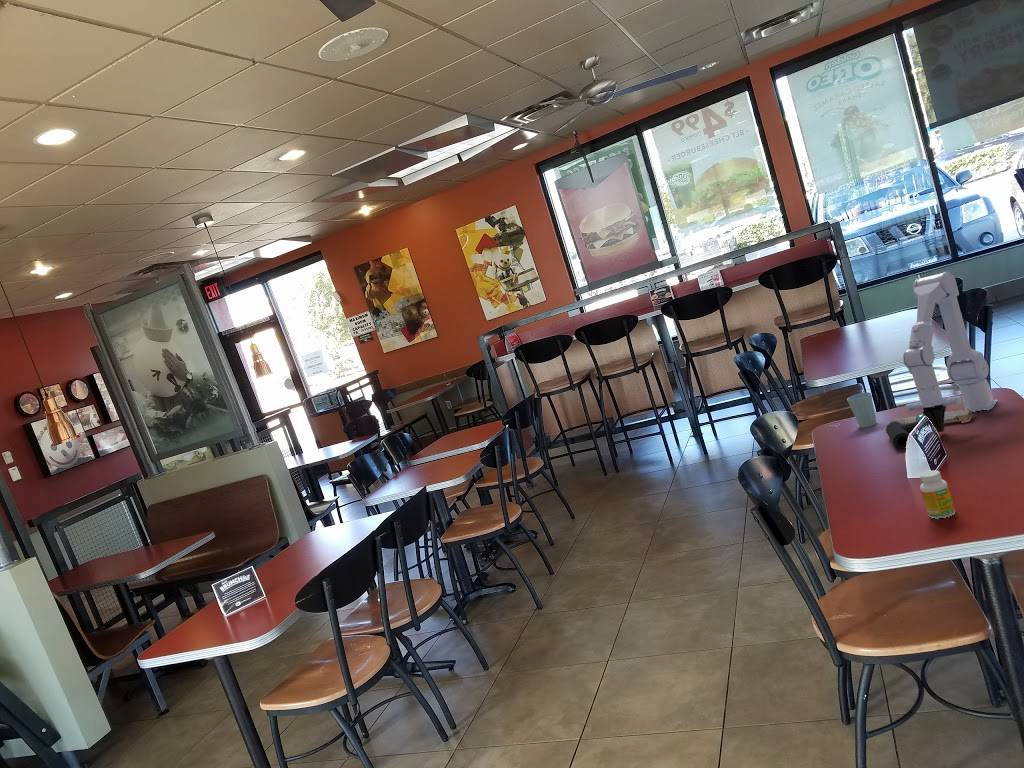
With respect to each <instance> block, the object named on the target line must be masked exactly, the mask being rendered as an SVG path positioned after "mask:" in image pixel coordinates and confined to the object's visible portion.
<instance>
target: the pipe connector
mask: <svg viewBox="0 0 1024 768" xmlns="http://www.w3.org/2000/svg"><path fill="white" fill-rule="evenodd" d="M919 421H920V420H919ZM919 421H917V422H914V423H910V424H906V425H902V424H901V423H899V422H891V423H890V422H889V423H888V424H887V426H886V427H885V433H886V434H887V436H888V437H889V439H890V441H891V443H892V444H893V446H894V447H895V448H896V449H898V450H905V449H906V448H905V447H906V441H907V437H908V435H909V433H910V432H911V431H912V430H913V428H914V427H915V426H916V425H917V424H918V422H919Z"/></svg>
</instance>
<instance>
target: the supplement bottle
mask: <svg viewBox="0 0 1024 768" xmlns="http://www.w3.org/2000/svg"><path fill="white" fill-rule="evenodd" d="M919 478H920V480H921V482H922V483H921V484H920V486H919V488H920V491H921V495H922V499H923V501H924V505H925V507H926V511H927V512H926V513H927V514H928V517H929V518H930V517H931V518H930V519H933V518H935V519H934V520H940V519H939V518H944V519H947V518H946V517H948V518H951V517H952V515H953V516H954V515H955V514H956V513H955V512H956V511H957V510H956V507H955V505H954V502H953V501H954V500H953V498H952V494H951V491H950V488H949V486H948V482H947V481H946V480H944V479H942V475H941V472H940V470H927V471H924V472H922V473H920V475H919ZM950 516H951V517H950Z"/></svg>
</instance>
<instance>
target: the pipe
mask: <svg viewBox="0 0 1024 768" xmlns="http://www.w3.org/2000/svg"><path fill="white" fill-rule="evenodd" d="M923 416H925V415H924V414H923V413H922V414H918V415H916V416H910V417H904V418H903V417H902V418H897V419H890V421H889V423H891V422H899V423H901V424H902V425H906V424H910V423H914V422H917V421H919V420H920V419H921V418H922V417H923ZM972 416H973V417H974V414H973V413H972V411H971V410H969V409H965V408H964V409H956V410H952V411H951V410H950V411H945V415H944V421H950V422H953V421H952V420H958V421H959V422H960V421H966V420H969V419H970V418H971V417H972Z"/></svg>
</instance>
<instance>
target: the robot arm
mask: <svg viewBox="0 0 1024 768" xmlns="http://www.w3.org/2000/svg"><path fill="white" fill-rule="evenodd" d="M912 288H913V294H914V296H915V298H916V299H917V308H916V310H917V312H916V324H914V325H912V327H911V331H910V337H909V344H908V349H906V350H905V351H904V353H903V354H902V355H903V357H902V360H903V364H904V366H905V367H906V368H907V369H908V370H907V371H908V372H909V373H908V374H910V375H912V378H913V382H914V385H915V388H916V390H917V394H918V397H919V400H920V401H916V402H912V403H907V404H906V405H905V406H904V407H905V410H906V413H910V412H914V411H920V410H922V411H923V412H922V415H923V414H924V415H925V416H926V417H928V418H929V420H930V421H931V422H932V424H931V425H933V427H934V428H935V430H936V431H937V433H943V432H944V431H945V422H944V415H945V412H946V409H947V406H953V405H961V404H962V402H963V405H964V409H969V410H971V411H980V410H987V411H991V410H992V409H993V407H994V406H995V405H996V404H997V403H996V402H998V399H994V396H993V394H992V390H991V386H990V383H989V381H988V380H987V378H988V375H989V371H990V369H989V364H988V362H987V361H986V359H985V356H984V355H983V353H982V351H981V352H980V351H978V350H976V349H974V348H971V344H970V341H969V337H968V333H967V329H966V326H965V322H964V319H963V315H962V312H961V309H960V304H959V301H958V296H959V295H960V292H959V288H958V285H957V281H956V277H955V275H953V274H952V273H950V272H948V271H944V272H942V273H937V274H934V275H929V276H924V277H922V278H919V277H918V278H916V279H915V280H914V282H913V287H912ZM936 304H937V305H938V307H939V311H940V314H941V318H942V323H943V325H944V329H945V332H946V336H947V340H948V343H949V347H950V350H951V354H950V355H949V356H948V358H947V359H946V371H947V372H946V373H947V376H948V378H949V380H950V381H951V382H953V383H954V384H955V385H957V386H958V389H959V391H960V392H959V393H960V395H955V396H945V397H943V395H942V391H941V388H940V386H939V385H940V384H939V382H938V379H937V376H936V373H935V369H934V366H933V364H934V361H935V353H934V346H933V345H932V343H933V335H934V331H935V329H934V327H933V326H932V325H931V323H932V318H933V315H934V310H935V307H936ZM961 398H962V399H961ZM990 409H991V410H990ZM980 412H981V411H980Z"/></svg>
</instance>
